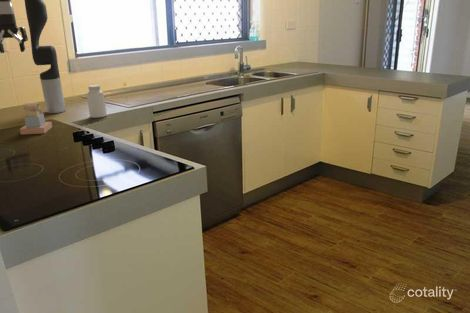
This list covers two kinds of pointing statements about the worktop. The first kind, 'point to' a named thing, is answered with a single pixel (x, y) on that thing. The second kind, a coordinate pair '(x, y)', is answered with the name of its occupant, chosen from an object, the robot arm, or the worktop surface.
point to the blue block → (35, 121)
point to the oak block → (32, 109)
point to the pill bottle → (96, 102)
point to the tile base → (36, 129)
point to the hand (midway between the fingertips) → (12, 52)
